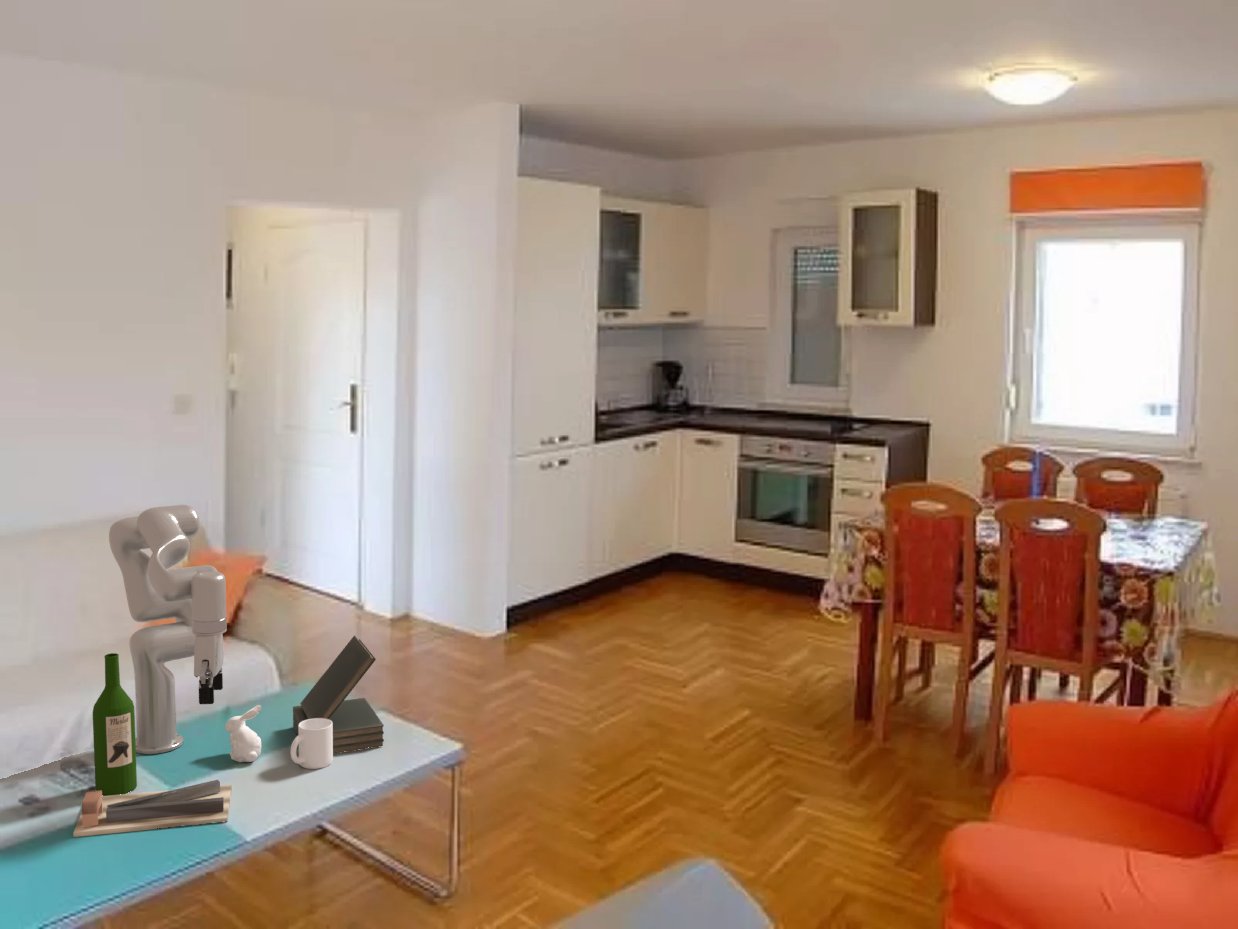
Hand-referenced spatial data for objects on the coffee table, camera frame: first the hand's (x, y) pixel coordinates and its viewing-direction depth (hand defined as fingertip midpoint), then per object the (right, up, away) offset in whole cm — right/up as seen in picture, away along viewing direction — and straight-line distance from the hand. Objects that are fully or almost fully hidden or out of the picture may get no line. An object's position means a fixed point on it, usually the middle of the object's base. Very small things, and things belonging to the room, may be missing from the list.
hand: (211, 696), depth 258 cm
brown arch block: (-20, -23, -17) cm, 35 cm away
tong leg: (-7, -22, -8) cm, 25 cm away
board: (-9, -24, -10) cm, 27 cm away
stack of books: (+20, -19, +37) cm, 46 cm away
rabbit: (0, -20, +23) cm, 31 cm away
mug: (+18, -21, +18) cm, 33 cm away
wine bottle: (-23, -22, +2) cm, 32 cm away
